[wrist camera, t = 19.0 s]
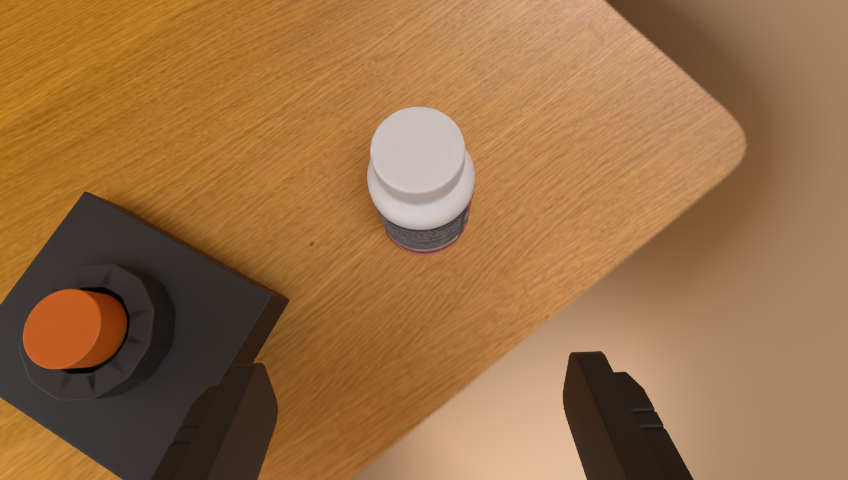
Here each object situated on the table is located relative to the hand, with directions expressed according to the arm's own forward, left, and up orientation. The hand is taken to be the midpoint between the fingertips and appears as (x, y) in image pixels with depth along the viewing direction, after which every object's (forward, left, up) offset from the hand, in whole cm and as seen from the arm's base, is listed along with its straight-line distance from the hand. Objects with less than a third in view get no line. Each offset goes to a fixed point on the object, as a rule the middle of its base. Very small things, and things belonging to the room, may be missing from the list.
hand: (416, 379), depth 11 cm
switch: (+15, +6, -9) cm, 19 cm away
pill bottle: (+4, -8, -13) cm, 16 cm away
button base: (+15, +6, -13) cm, 21 cm away
